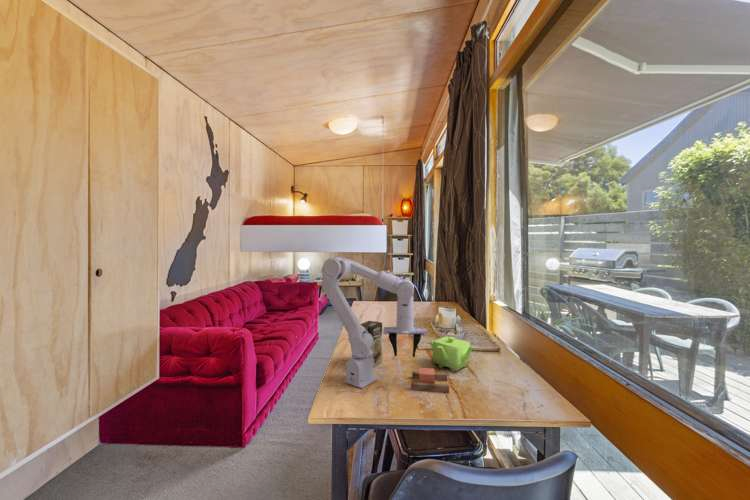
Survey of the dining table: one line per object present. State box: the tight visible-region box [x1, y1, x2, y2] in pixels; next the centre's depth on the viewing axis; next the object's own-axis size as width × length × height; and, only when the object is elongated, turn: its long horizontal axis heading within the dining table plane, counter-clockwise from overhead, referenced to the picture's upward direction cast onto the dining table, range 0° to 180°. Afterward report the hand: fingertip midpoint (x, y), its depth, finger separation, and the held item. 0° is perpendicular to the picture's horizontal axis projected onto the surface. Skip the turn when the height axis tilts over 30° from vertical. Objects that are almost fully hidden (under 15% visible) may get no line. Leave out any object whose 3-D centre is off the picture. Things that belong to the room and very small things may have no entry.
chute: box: [410, 370, 450, 394], centre depth 112 cm, size 12×10×2 cm
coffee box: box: [360, 320, 383, 369], centre depth 128 cm, size 9×6×16 cm
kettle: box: [428, 336, 477, 373], centre depth 127 cm, size 15×14×11 cm
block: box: [418, 367, 436, 384], centre depth 112 cm, size 5×5×4 cm
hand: (404, 355), depth 113 cm, fingers open, 5 cm apart
